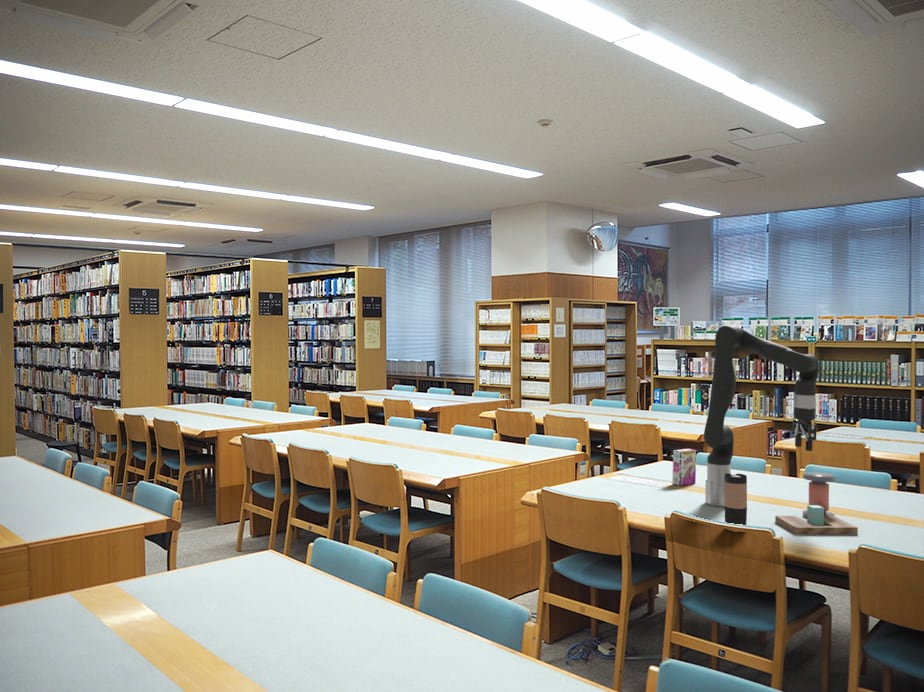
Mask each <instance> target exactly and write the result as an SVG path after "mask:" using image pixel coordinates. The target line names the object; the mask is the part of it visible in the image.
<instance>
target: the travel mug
mask: <svg viewBox="0 0 924 692" xmlns="http://www.w3.org/2000/svg"><path fill="white" fill-rule="evenodd" d="M747 482H748V475H746V474H743V473H736V474H732V473H731V474H730V473H727V474H725V497H724V505H725V506H723V507H724V509H723V510H724V523H725V522H727V523H734V524H743V525H746V526H747V519H748V518H747V515H748V514H747V513H748V483H747Z"/></svg>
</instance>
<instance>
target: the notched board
mask: <svg viewBox="0 0 924 692" xmlns="http://www.w3.org/2000/svg"><path fill="white" fill-rule="evenodd" d="M774 517H775V518H774V519H775V522H774V523H776V524H777V523H778V524H777V525H779V526H781V527H782V528H784V529H786V530H787V531H789V532H791V533H792V532H793V533H792V534H794V535H796V534H858V533H859V531H858V529H859V528H858V526H856V525H853V524H851V523H849V522H847V521H845V520H844V519H841V518H840V517H837V516H836V515H835V516H824V526H813V525H811V524H809V523H808V522H807V521H806V520H804V519H803V518H800V517H798V516H796V515H775V516H774Z"/></svg>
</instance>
